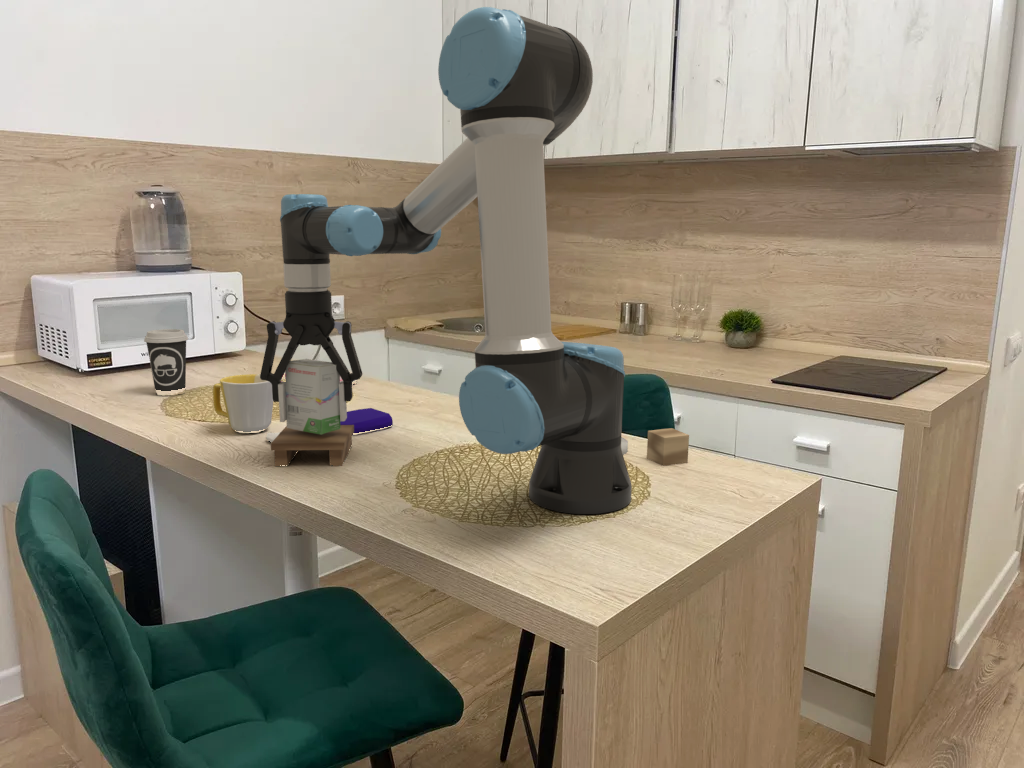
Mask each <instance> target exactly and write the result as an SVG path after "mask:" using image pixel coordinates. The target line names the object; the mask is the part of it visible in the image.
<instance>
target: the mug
mask: <svg viewBox="0 0 1024 768" xmlns="http://www.w3.org/2000/svg"><path fill="white" fill-rule="evenodd" d="M260 374H261V373H260ZM260 374H259V373H258V374H255V373H253V374H251V373H250V374H237V375H229V376H226V377H222V378H221V379H220V380H219V383H215V384H214V385H213V388H212V399H213V407H214V411H215V413H216V414H217V415H219V416H222V417H225V418H227V420H228V424H229V427H230V428H231V429H232V430H233V431H234V430H236V431H243V432H251V431H259V430H263V429H266V428H267V429H268V428H269V427H270V425H271V424H272V420H273V419H272V418H273V408H274V401H273V395H272V384H271V383H270V382H269V381H266V380H261V379H260ZM221 394H222V398H223V402H224V406H225V410H223V409H222V405H221ZM267 429H266V430H267Z"/></svg>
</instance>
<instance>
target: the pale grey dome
mask: <svg viewBox="0 0 1024 768" xmlns="http://www.w3.org/2000/svg"><path fill="white" fill-rule="evenodd" d="M628 445H629V441H628V439H626V438H624V437H622V436H621V450H622V454H623V456H624V455H625V454H627V453H628V448H629V446H628Z"/></svg>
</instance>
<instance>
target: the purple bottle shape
mask: <svg viewBox="0 0 1024 768" xmlns="http://www.w3.org/2000/svg"><path fill="white" fill-rule="evenodd" d="M393 423H394V422H393V417H392V416H391V414H390V413H389V412H385V411H382V410H378V409H376V408H372V407H369V408H361V409H360V408H359V409H355V410H347V418H346V420H345V421H340V425H354V433H359V432H365V431H370V430H375V429H380V428H384V427H388V426H391V425H392V426H393V425H394V424H393ZM266 433H267V434H266V435H265V440H266V439H267V440H268V441H270V442H273V440H274V439H275V438H276V437H277V436H278V435H279V434H280V433H281V431H279V432H266ZM268 441H267V442H268ZM270 442H269V443H270Z"/></svg>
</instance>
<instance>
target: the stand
mask: <svg viewBox="0 0 1024 768" xmlns="http://www.w3.org/2000/svg"><path fill="white" fill-rule="evenodd" d="M280 432H281V433H280V434H279V435H278V436H277V437H276V438H275V439H274V440H273V442H272V443H270V451H273V453H274V455H273V456H274V467H275V466H280V465H281V466H282V465H285V466H286V465H288V464H289V462H290V461H291V460H292V461H293V459H294V458H295V457H294V455H295V454H296V452H297V451H298V450H299V451H329V454H328V455H329V467H342V466H343V464H344V463H345V461H344V460H346V459H345V458H347V457H348V455H349V453H350V451H349V449H350V447H351V445H352V446H353V442H352V441H353V439H352V437H353V436H352V435H353V433H354V425H340V429H339V430H335V431H331V432H328V433H324V434H321V435H320V434H315V433H310V432H304V431H299V430H294V429H289V428H287V425H286V426H285V427H284V428H283V429H282V430H281V431H280ZM351 448H352V447H351ZM350 450H351V449H350ZM299 451H298V452H299ZM348 452H349V453H348ZM347 454H348V455H347ZM296 455H297V454H296ZM296 455H295V456H296ZM346 456H347V457H346ZM293 457H294V458H293ZM292 458H293V459H292ZM292 461H291V462H292ZM291 462H290V463H291ZM343 462H344V463H343ZM289 465H290V464H289ZM289 465H288V466H289ZM331 465H333V466H331ZM339 465H340V466H339Z"/></svg>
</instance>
